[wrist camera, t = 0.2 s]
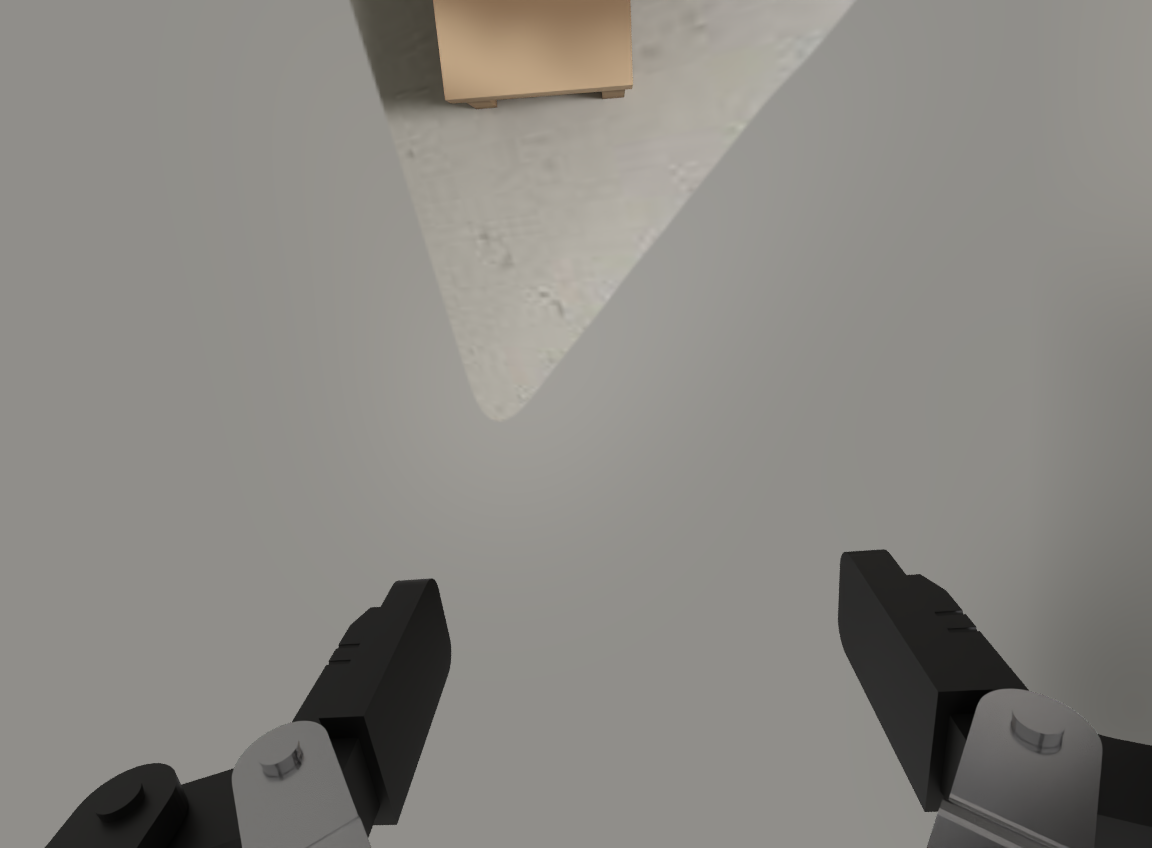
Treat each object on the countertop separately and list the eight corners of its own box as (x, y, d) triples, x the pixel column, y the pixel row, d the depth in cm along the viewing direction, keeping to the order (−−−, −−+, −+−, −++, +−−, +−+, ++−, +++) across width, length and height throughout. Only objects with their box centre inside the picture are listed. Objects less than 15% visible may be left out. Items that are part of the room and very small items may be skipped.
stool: (450, -76, 32) (416, -133, 27) (623, -94, 32) (625, -156, 26) (472, 115, 35) (445, 100, 30) (629, 102, 35) (632, 84, 29)
